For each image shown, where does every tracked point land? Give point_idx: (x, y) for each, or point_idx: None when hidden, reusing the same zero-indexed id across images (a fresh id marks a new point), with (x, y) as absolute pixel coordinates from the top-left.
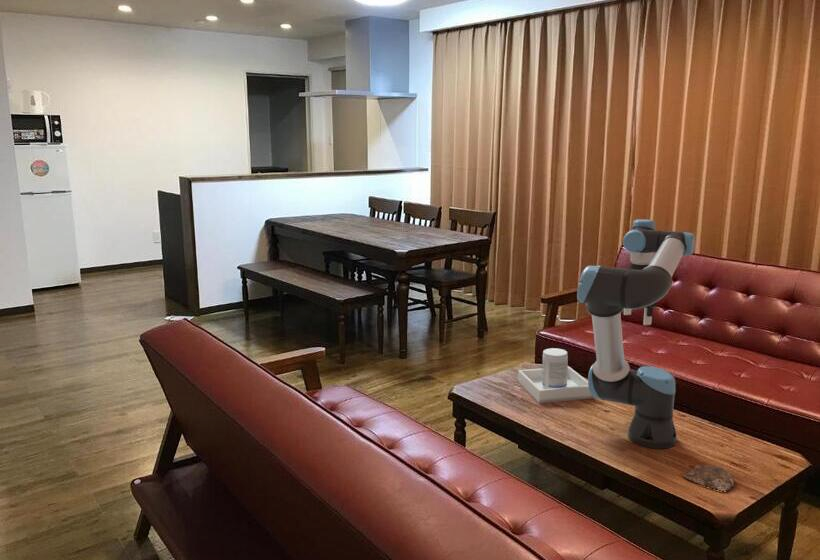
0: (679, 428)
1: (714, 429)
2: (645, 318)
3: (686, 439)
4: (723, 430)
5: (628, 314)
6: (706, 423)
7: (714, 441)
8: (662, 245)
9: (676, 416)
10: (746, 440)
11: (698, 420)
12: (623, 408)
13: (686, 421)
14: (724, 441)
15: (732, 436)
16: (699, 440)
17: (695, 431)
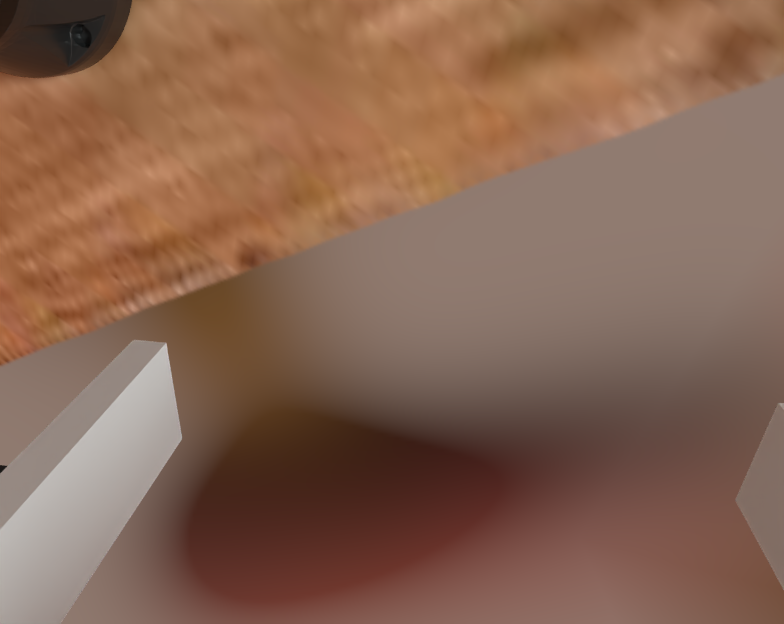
0: (127, 160)
1: (113, 287)
2: (68, 417)
3: (22, 118)
4: (104, 310)
5: (753, 468)
6: (166, 295)
7: (10, 216)
8: None
9: (244, 228)
10: (24, 326)
11: (196, 286)
12: (381, 28)
13: (192, 235)
14: (12, 251)
15: (55, 305)
16: (16, 165)
17: (97, 206)
